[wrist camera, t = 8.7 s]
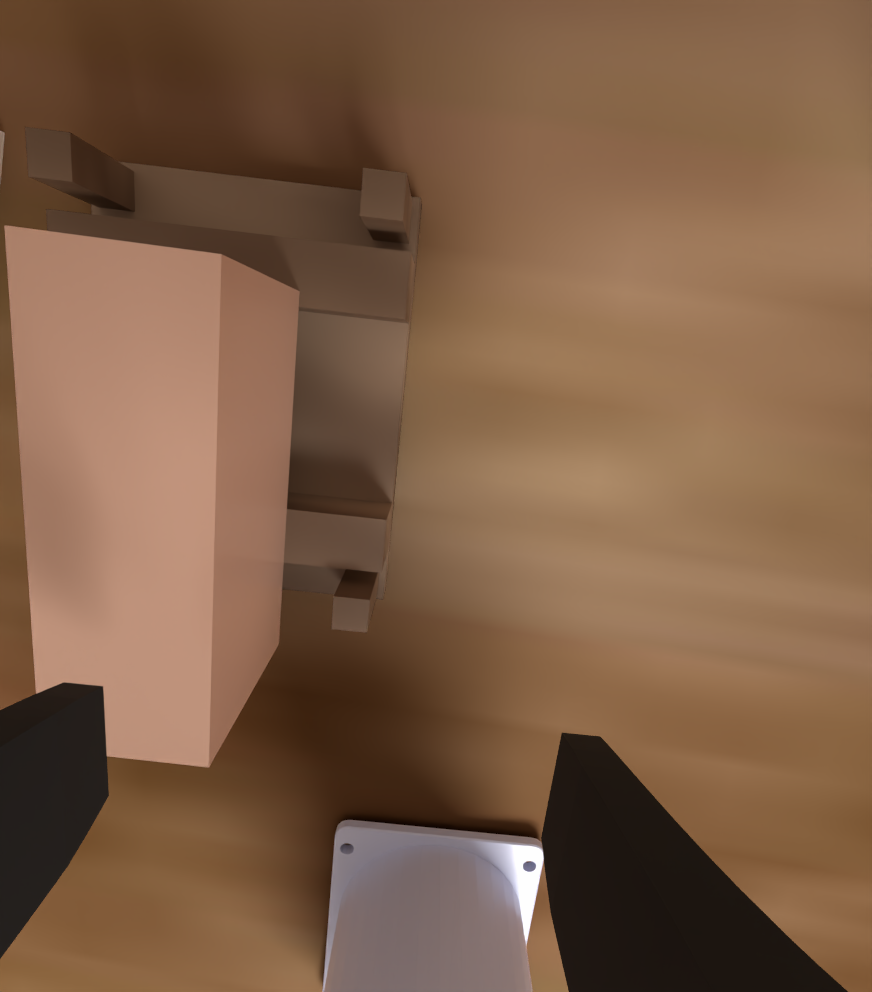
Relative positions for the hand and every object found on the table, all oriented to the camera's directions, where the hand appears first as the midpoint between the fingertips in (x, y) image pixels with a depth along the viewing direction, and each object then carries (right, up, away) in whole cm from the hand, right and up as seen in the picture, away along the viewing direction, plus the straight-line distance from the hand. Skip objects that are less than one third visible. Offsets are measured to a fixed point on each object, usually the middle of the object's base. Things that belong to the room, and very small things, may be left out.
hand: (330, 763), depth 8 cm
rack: (-4, +7, +8) cm, 12 cm away
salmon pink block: (-4, +5, +6) cm, 9 cm away
